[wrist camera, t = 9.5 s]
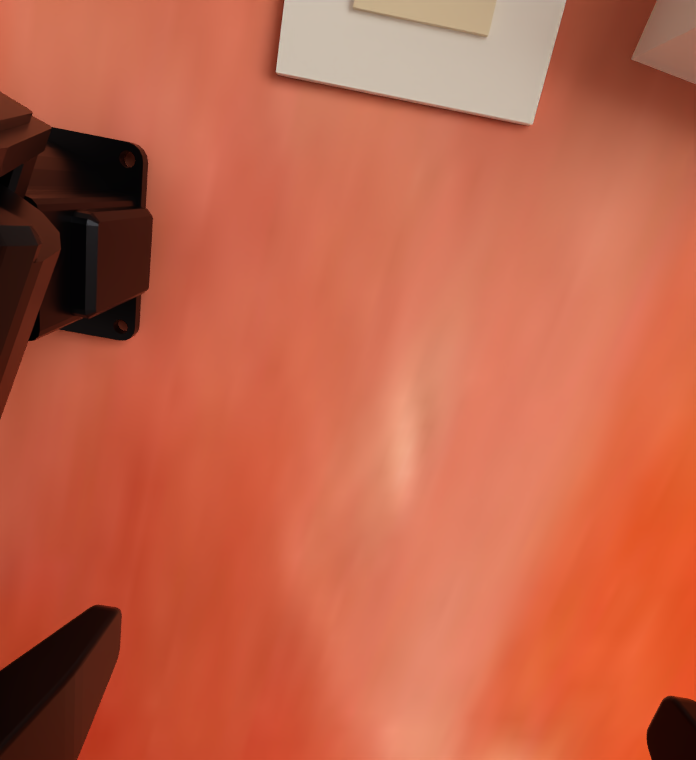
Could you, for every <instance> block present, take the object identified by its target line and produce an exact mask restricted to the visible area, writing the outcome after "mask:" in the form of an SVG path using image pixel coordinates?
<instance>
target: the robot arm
mask: <svg viewBox="0 0 696 760" xmlns="http://www.w3.org/2000/svg"><path fill="white" fill-rule="evenodd" d="M128 152H132V153H133V155H134V156H135V160H136V161H135V164H134V166H132V167H131V168H130V167H128V166H127V164H126V163H125V159H124V158H125V155H126V153H128ZM147 171H148V159H147V155H146V153H145V151H144V150H143V149H142V148H141V147H140V146H139V145H136V144H134V143H130V142H125V141H120V140H115V139H110V138H105V137H100V136H94V135H89V134H84V133H79V132H74V131H69V130H64V129H58V128H53V127H51V126H49V125H48V124H46V123H44V122H42V121H41V120H39V119H37V118H35V117H33V116H32V111H31V110H29V109H28V108H26V107H25V106H23V105H21V104H20V103H18V102H16V101H15V100H13V99H11V98H10V97H8V96H6V95H5V94H3V93H2V92H0V419H1V416H2V413H3V410H4V407H5V405H6V402H7V399H8V396H9V393H10V391H11V388H12V385H13V382H14V379H15V377H16V374H17V371H18V368H19V365H20V363H21V360H22V357H23V354H24V351H25V349H26V346H27V343H28V341H34V340H36V339H38V338H40V337H43V336H45V335H47V334H49V333H51V332H53V331H56V330H58V329H60V330H65V331H71V332H76V333H82V334H88V335H93V336H99V337H104V338H110V339H115V340H127V339H129V338H131V337H133V336H134V335H135V334H136V333H137V332H138V329H139V323H140V304H141V294H143V293H144V292H145V291H146V290H148V288H149V276H150V258H151V241H152V224H153V217H152V215H151V214H150V212H149V211H148V209H146V190H147ZM119 320H123V321H125V322H126V324H127V326H128V329H127V331H124V330H122V329H121V328H120V327H119V325H118V321H119ZM121 619H122V614H121V610H120V609H118V608H116V607H110V606H103V605H94V606H92V607H90V608H89V609H87V610H86V611H84V612H83V613H82V614H80V615H79V616H77V617H76V618H74V619H73V620H72V621H70V622H69V623H67V624H66V625H64V626H63V627H62V628H60V629H59V630H57V631H56V632H55V633H53V634H52V635H50V636H49V637H47V638H46V639H45V640H43V641H42V642H40V643H39V644H37V645H36V646H35V647H33V648H32V649H30V650H29V651H28V652H26V653H25V654H23V655H22V656H20V657H19V658H18V659H16V660H15V661H13V662H12V663H11V664H9V665H8V666H6V667H5V668H3V669H2V670H1V671H0V760H77V758H78V756H79V753H80V751H81V749H82V746H83V744H84V741H85V739H86V736H87V734H88V731H89V729H90V726H91V724H92V721H93V719H94V717H95V714H96V712H97V709H98V707H99V704H100V702H101V699H102V697H103V694H104V692H105V689H106V687H107V684H108V682H109V679H110V677H111V674H112V672H113V669H114V667H115V664H116V662H117V659H118V655H119V650H120V638H121ZM647 745H648V749H649V753H650V756H651V759H652V760H696V702H695V701H693V700H691V699H687V698H681V697H675V696H667V697H666V698H664V699H663V700H662V702H661V704H660V706H659V708H658V710H657V712H656V713H655V715H654V717H653V719H652V721H651V723H650V725H649V727H648V730H647Z"/></svg>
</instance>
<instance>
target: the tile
mask: <svg viewBox="0 0 696 760" xmlns="http://www.w3.org/2000/svg"><path fill="white" fill-rule="evenodd" d="M565 4H566V0H284V8H283V17H282V25H281V33H280V41H279V50H278V58H277V66H276V73H277V75H280V76H285V77H290V78H295V79H300V80H305V81H310V82H315V83H320V84H325V85H329V86H334V87H339V88H344V89H349V90H354V91H359V92H364V93H369V94H374V95H379V96H384V97H389V98H394V99H398V100H403V101H408V102H413V103H418V104H423V105H428V106H433V107H438V108H443V109H448V110H453V111H458V112H463V113H468V114H472V115H477V116H482V117H487V118H492V119H497V120H502V121H507V122H512V123H517V124H522V125H527V126H530V125H532V124H533V121H534V118H535V114H536V110H537V107H538V103H539V99H540V96H541V92H542V88H543V85H544V81H545V77H546V73H547V70H548V66H549V62H550V59H551V55H552V51H553V48H554V44H555V40H556V37H557V33H558V29H559V26H560V22H561V18H562V15H563V11H564V7H565Z"/></svg>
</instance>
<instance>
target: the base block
mask: <svg viewBox="0 0 696 760" xmlns="http://www.w3.org/2000/svg"><path fill="white" fill-rule="evenodd" d="M631 60H634V61H637V62H639V63H642V64H644V65H647V66H650V67H652V68H655V69H657V70H660V71H663V72H665V73H668V74H670V75H673V76H676V77H678V78H681V79H683V80H686V81H689V82H691V83H694V84H696V0H657V1H656V3H655V5H654V8H653V10H652V12H651V14H650V17H649V19H648V21H647V24H646V26H645V28H644V30H643V33H642V35H641V37H640V39H639V42H638V44H637V46H636V49H635V51H634V53H633V55H632V58H631Z"/></svg>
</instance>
